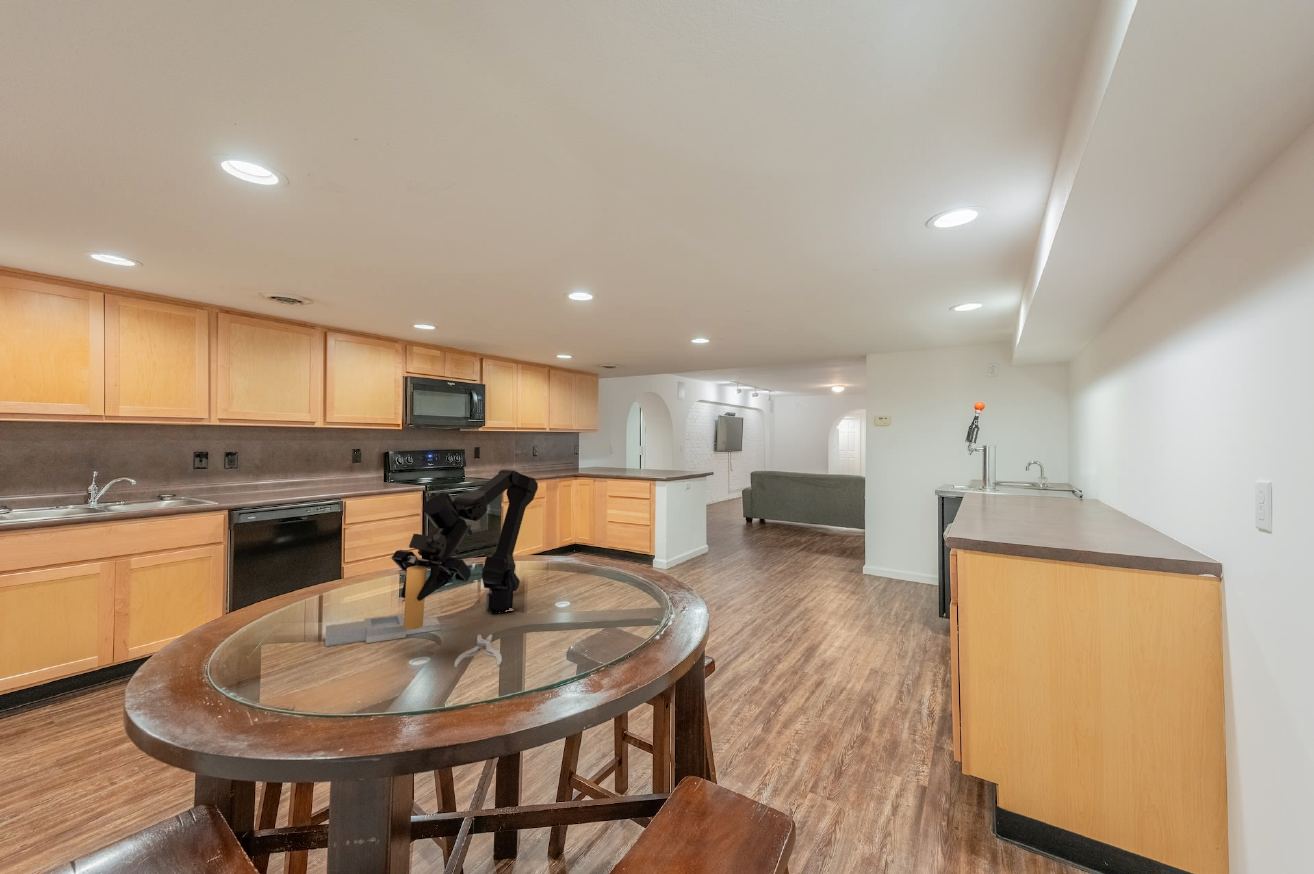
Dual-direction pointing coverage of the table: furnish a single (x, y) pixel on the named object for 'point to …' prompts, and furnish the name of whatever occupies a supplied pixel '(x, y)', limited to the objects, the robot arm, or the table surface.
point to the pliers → (480, 644)
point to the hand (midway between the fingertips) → (410, 598)
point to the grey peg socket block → (375, 630)
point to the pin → (414, 597)
